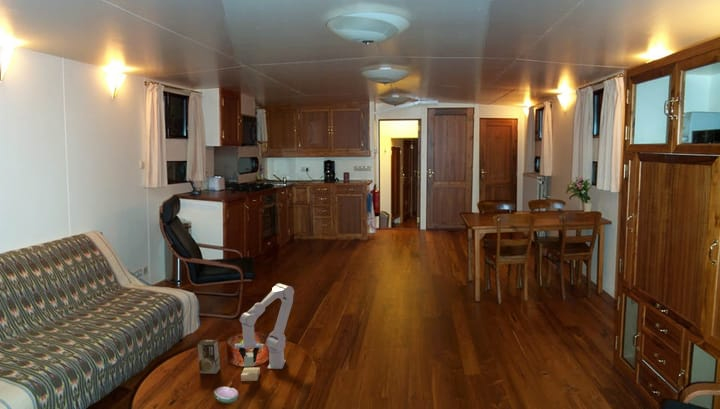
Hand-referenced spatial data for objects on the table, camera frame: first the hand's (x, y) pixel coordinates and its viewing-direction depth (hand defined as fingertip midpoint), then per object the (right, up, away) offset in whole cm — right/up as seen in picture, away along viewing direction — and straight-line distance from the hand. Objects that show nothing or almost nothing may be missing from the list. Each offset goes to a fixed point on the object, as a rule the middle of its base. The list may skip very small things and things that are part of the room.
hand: (249, 361), depth 255 cm
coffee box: (-23, -8, +9) cm, 26 cm away
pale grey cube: (0, -1, 0) cm, 1 cm away
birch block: (0, -9, +1) cm, 9 cm away
